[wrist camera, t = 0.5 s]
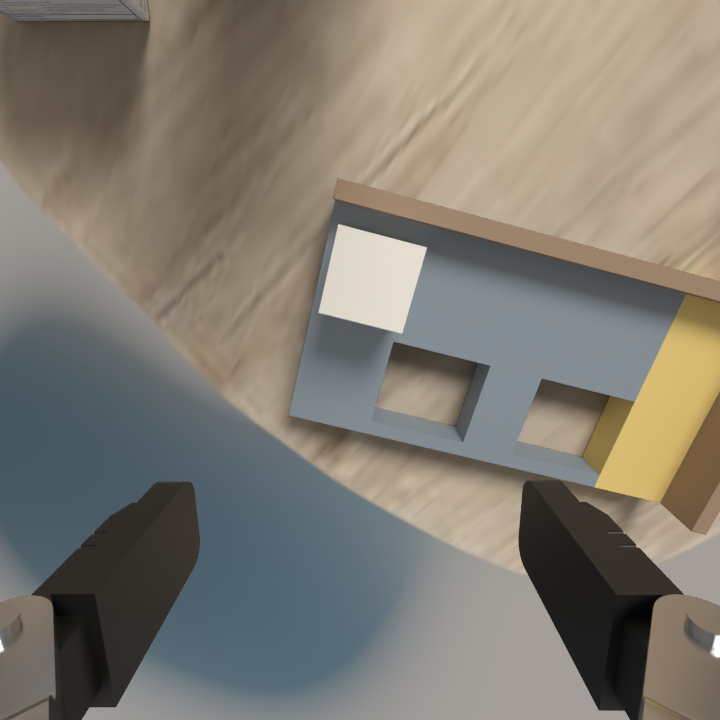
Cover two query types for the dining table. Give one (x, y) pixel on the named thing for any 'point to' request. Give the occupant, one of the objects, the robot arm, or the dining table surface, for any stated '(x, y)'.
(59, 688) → the robot arm
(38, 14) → the medicine box
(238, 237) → the dining table surface
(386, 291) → the ivory block
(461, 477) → the dining table surface
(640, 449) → the trap deck
